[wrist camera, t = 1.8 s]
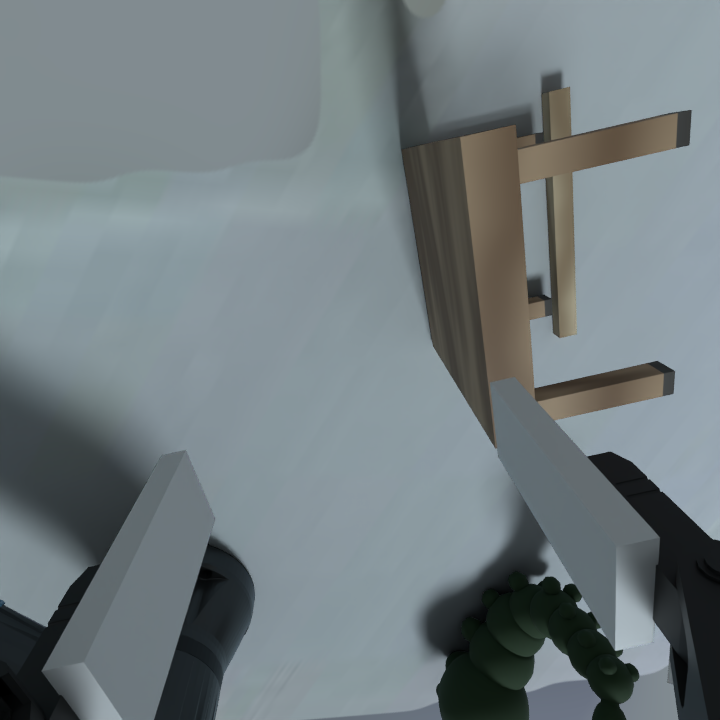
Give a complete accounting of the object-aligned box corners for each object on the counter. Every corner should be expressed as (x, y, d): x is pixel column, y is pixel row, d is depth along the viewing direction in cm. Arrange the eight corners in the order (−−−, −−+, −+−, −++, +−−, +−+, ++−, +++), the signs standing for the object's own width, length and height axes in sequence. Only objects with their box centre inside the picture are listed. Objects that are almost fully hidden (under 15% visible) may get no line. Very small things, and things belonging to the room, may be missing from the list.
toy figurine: (502, 527, 52) (400, 686, 58) (605, 694, 34) (444, 900, 40) (569, 551, 54) (465, 702, 60) (699, 720, 36) (533, 912, 42)
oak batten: (553, 333, 41) (559, 338, 40) (541, 94, 34) (549, 91, 33) (570, 329, 41) (576, 334, 40) (561, 89, 34) (569, 87, 33)
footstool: (433, 346, 41) (495, 448, 26) (401, 149, 34) (460, 137, 20) (545, 320, 41) (672, 409, 26) (534, 118, 34) (693, 83, 20)
